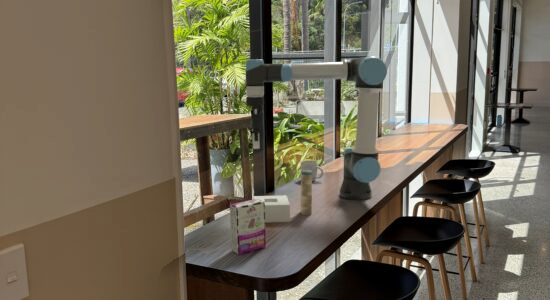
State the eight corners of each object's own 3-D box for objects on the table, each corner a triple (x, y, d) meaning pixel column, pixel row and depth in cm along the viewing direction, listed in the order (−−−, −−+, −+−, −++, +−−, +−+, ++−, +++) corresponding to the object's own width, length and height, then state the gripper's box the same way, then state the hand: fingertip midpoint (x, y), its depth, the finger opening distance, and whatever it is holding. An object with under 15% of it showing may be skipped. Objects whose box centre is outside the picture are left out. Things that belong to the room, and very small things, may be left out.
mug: (297, 181, 261) (297, 163, 260) (304, 177, 269) (304, 160, 268) (320, 183, 256) (320, 165, 254) (326, 180, 264) (326, 162, 262)
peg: (310, 211, 208) (310, 170, 205) (311, 214, 204) (311, 172, 201) (300, 211, 208) (300, 170, 205) (301, 214, 204) (302, 172, 200)
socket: (286, 211, 208) (286, 195, 207) (289, 221, 194) (289, 204, 193) (253, 212, 207) (253, 196, 206) (254, 222, 193) (254, 205, 192)
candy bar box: (257, 243, 171) (257, 198, 168) (266, 247, 167) (265, 201, 164) (230, 250, 164) (229, 203, 162) (238, 255, 160) (237, 207, 158)
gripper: (245, 94, 219) (246, 141, 222) (246, 98, 194) (247, 151, 198) (262, 94, 219) (263, 141, 223) (265, 98, 195) (265, 150, 198)
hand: (255, 146), depth 210 cm, fingers open, 13 cm apart
